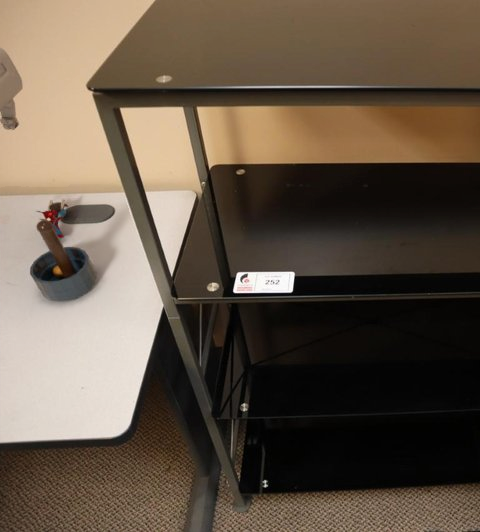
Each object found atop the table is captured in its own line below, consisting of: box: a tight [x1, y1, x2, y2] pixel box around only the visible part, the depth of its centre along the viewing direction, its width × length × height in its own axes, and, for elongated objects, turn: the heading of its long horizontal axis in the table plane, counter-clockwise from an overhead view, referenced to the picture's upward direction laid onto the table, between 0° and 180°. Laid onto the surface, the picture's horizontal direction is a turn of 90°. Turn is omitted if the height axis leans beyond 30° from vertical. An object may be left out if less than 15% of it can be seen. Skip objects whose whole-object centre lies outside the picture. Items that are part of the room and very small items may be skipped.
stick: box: [36, 220, 77, 278], centre depth 93 cm, size 2×2×15 cm
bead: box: [53, 266, 64, 278], centre depth 99 cm, size 2×2×2 cm
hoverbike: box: [36, 198, 69, 239], centre depth 108 cm, size 5×12×6 cm, turn 17°
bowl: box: [29, 246, 98, 302], centre depth 97 cm, size 10×10×6 cm
